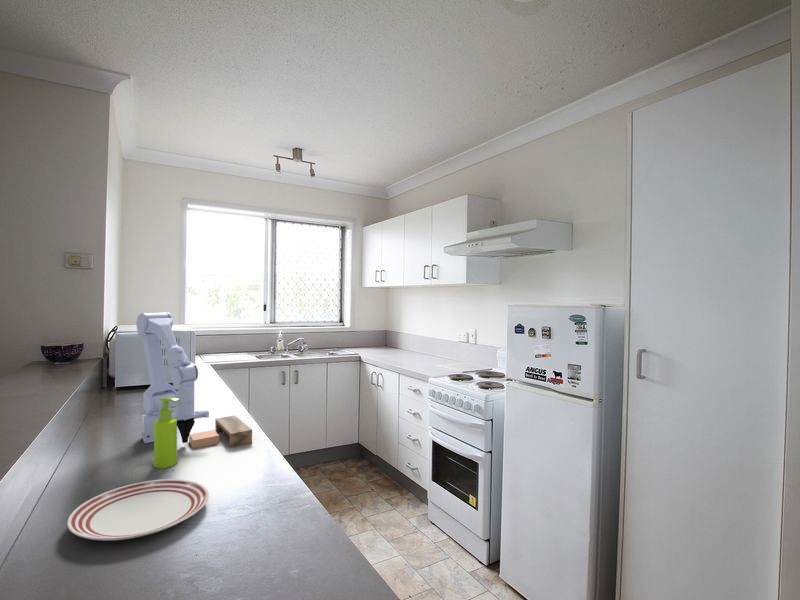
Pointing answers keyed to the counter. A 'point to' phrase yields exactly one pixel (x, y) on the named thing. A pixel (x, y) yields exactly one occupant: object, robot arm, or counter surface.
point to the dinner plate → (137, 509)
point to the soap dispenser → (165, 436)
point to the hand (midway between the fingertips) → (184, 442)
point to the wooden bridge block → (234, 430)
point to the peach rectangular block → (203, 438)
